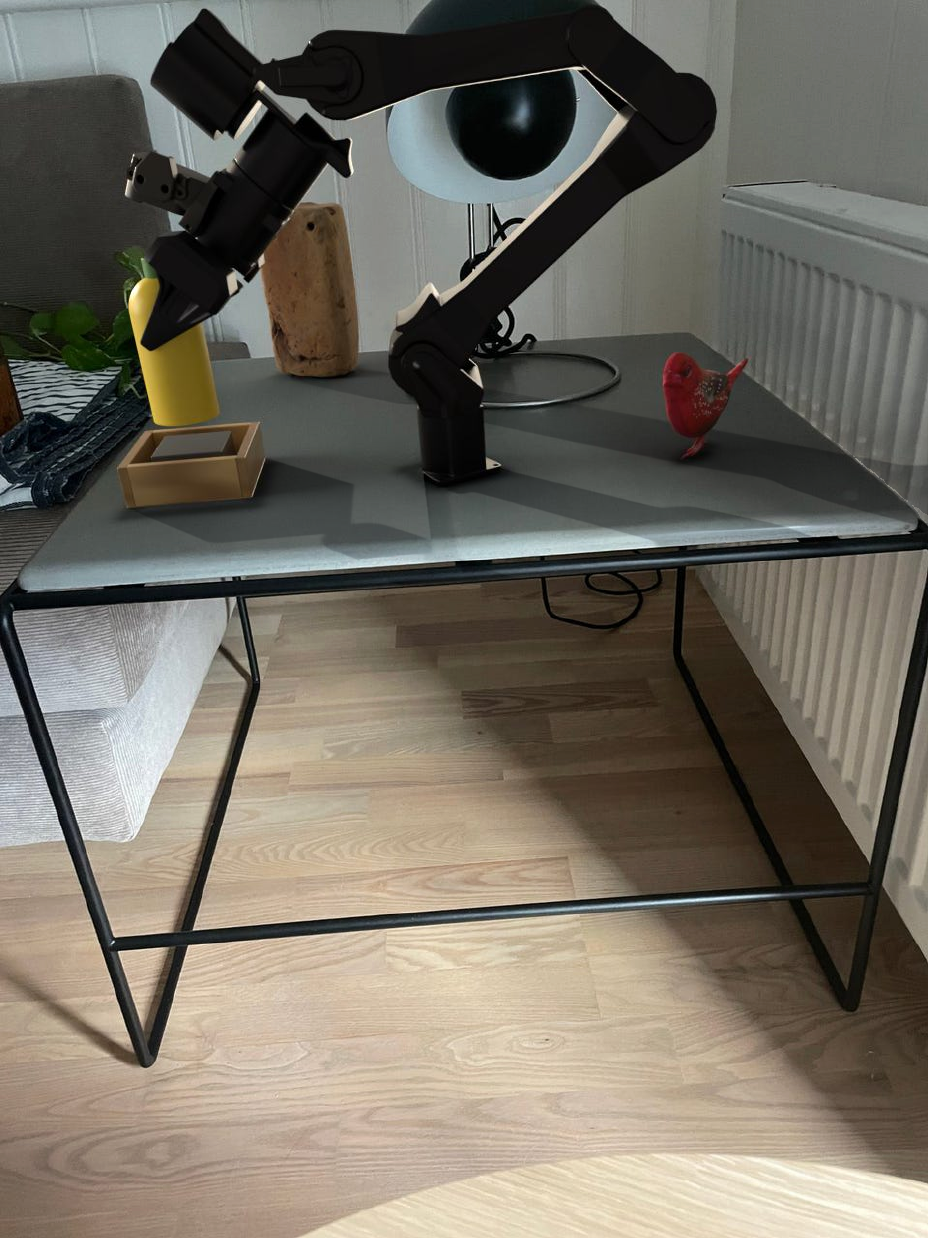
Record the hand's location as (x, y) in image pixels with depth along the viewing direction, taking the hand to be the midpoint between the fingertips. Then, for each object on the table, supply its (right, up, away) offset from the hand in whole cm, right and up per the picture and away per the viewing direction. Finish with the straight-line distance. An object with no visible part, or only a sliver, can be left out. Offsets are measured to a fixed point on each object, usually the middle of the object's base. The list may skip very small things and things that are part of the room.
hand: (154, 339), depth 79 cm
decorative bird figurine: (+48, -8, +8) cm, 49 cm away
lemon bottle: (+2, -6, +3) cm, 7 cm away
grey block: (+2, -11, +6) cm, 13 cm away
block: (+7, +8, +43) cm, 44 cm away
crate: (+2, -12, +6) cm, 13 cm away
